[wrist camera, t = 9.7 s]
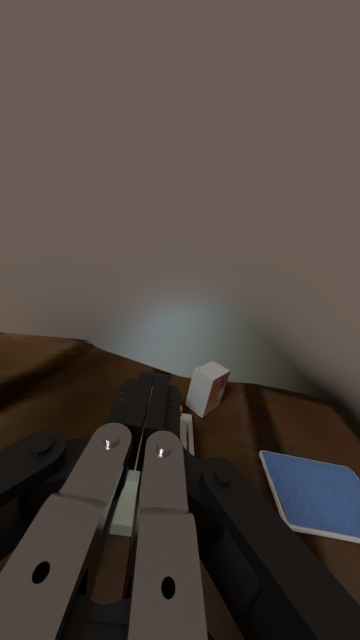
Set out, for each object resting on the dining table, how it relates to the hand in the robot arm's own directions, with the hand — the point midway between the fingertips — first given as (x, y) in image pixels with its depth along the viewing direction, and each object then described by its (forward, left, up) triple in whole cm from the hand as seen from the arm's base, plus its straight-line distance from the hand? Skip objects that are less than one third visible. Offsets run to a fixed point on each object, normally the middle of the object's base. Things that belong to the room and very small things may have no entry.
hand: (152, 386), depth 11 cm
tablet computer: (+12, +34, -28) cm, 45 cm away
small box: (-14, +32, -27) cm, 44 cm away
